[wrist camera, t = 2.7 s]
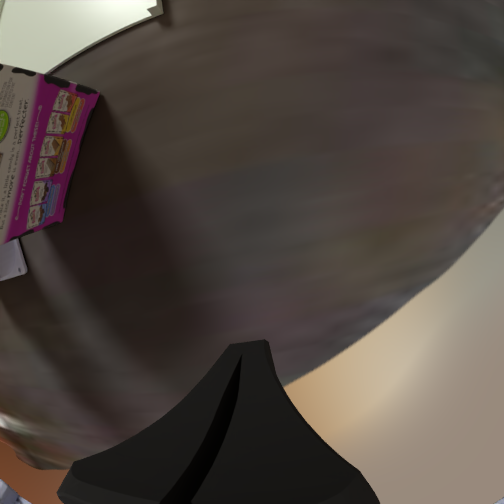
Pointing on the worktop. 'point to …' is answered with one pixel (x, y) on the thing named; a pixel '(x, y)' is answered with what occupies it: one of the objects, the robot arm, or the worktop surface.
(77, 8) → the tray
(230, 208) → the worktop surface
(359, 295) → the worktop surface
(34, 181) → the candy bar box
